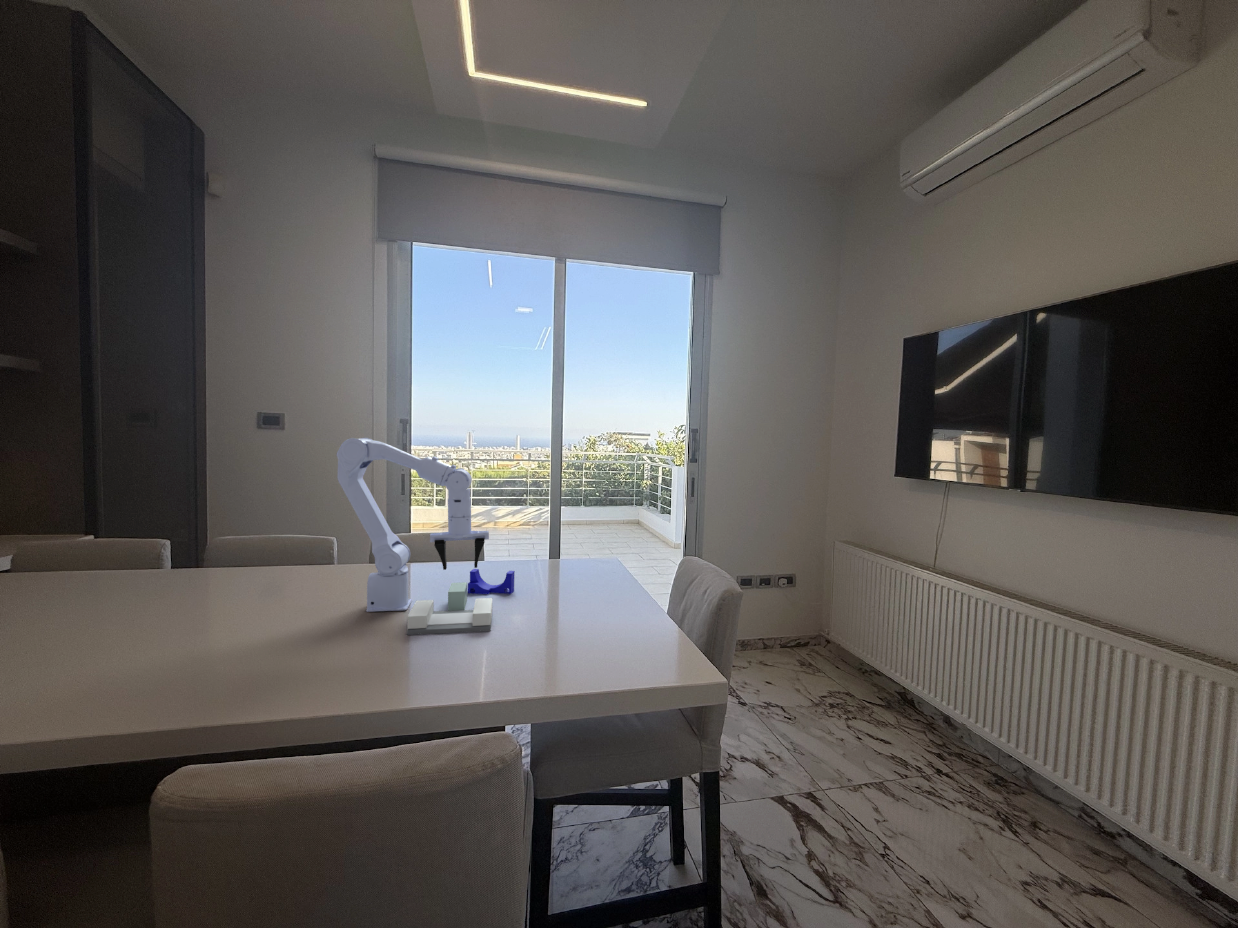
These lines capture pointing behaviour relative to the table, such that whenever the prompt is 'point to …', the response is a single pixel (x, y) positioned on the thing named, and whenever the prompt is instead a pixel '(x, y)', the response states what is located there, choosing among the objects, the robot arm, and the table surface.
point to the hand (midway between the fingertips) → (460, 567)
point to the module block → (457, 596)
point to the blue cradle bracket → (482, 587)
